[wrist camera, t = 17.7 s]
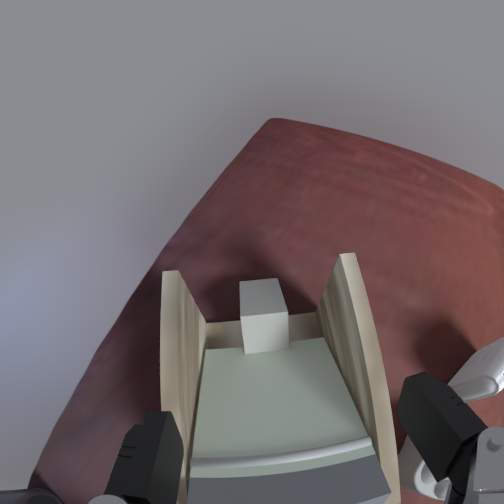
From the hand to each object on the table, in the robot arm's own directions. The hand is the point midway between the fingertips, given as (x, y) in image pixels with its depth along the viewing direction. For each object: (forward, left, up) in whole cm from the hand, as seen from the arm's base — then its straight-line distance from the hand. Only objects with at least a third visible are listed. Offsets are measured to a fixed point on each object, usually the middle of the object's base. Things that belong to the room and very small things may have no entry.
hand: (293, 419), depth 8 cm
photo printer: (+30, -2, -29) cm, 42 cm away
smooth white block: (0, +9, -21) cm, 23 cm away
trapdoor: (0, -3, -21) cm, 22 cm away
